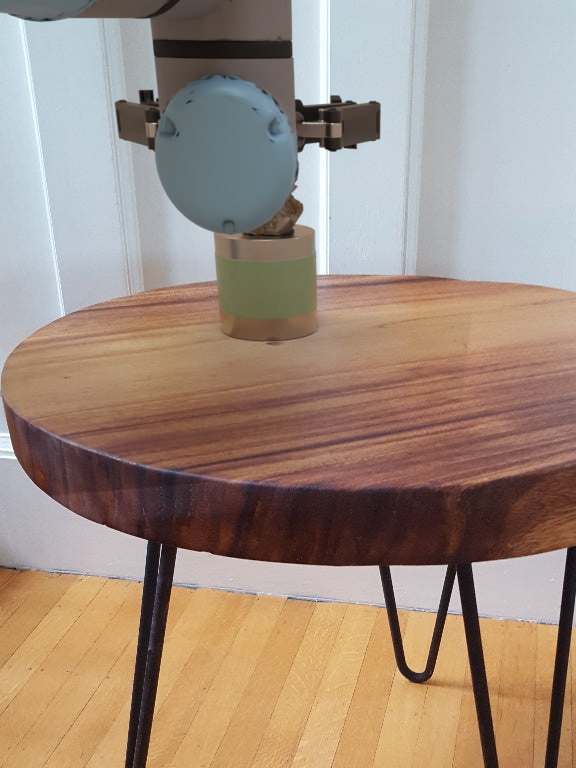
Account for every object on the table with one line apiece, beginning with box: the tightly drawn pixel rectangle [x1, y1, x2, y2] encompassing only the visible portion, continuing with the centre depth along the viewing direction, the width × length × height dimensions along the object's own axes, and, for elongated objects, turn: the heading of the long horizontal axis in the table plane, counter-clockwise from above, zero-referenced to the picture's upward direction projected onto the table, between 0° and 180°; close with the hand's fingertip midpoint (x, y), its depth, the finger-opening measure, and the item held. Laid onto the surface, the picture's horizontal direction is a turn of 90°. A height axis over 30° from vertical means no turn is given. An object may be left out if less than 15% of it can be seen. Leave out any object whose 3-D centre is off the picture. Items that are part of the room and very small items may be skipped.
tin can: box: [213, 223, 318, 342], centre depth 93 cm, size 10×10×9 cm
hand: (254, 113), depth 80 cm, fingers open, 13 cm apart
